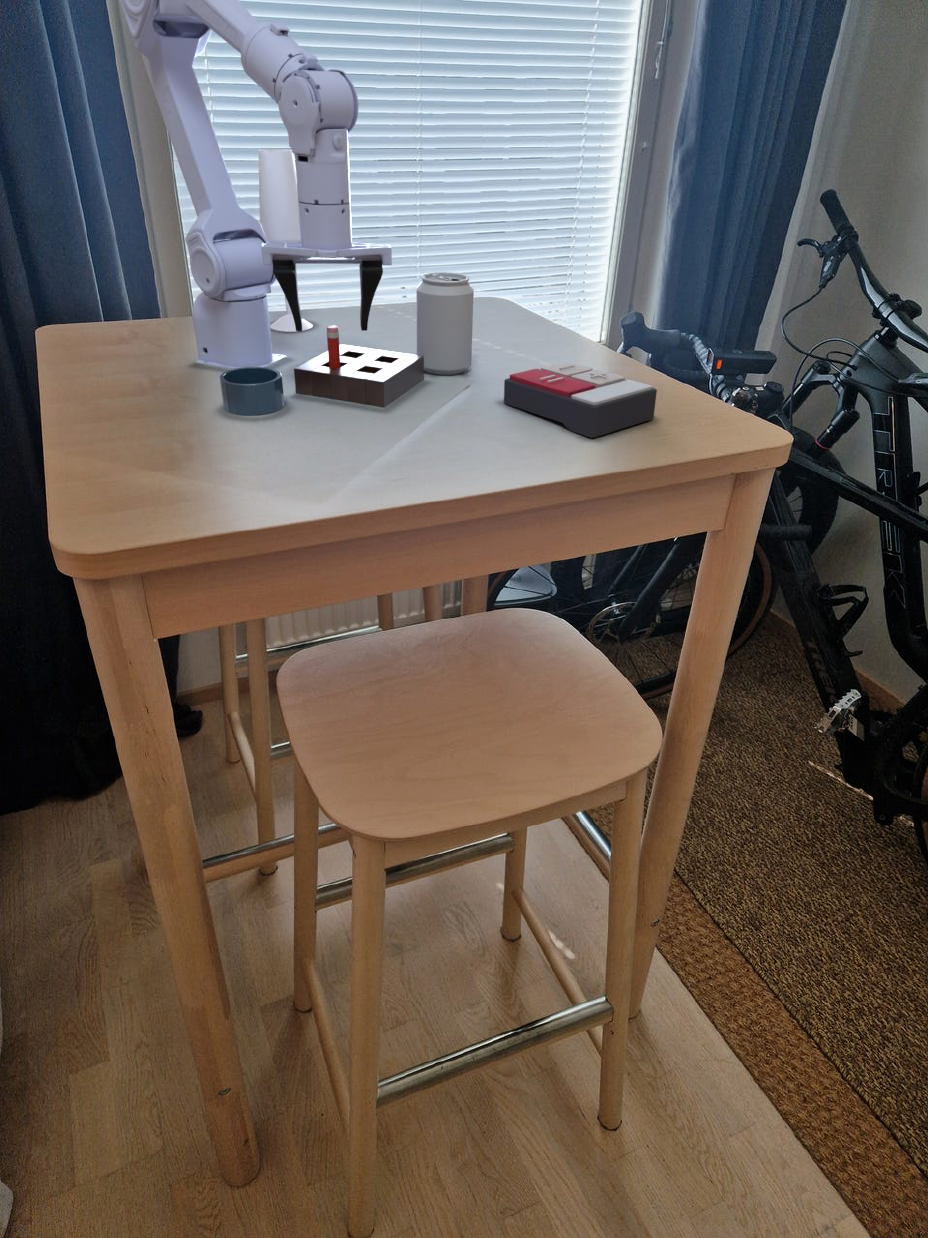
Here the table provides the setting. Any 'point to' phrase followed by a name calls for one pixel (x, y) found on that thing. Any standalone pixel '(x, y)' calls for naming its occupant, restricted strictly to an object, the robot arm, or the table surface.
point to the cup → (252, 391)
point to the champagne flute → (280, 211)
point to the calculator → (581, 398)
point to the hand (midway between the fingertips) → (331, 328)
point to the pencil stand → (360, 376)
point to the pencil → (333, 346)
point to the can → (445, 322)
